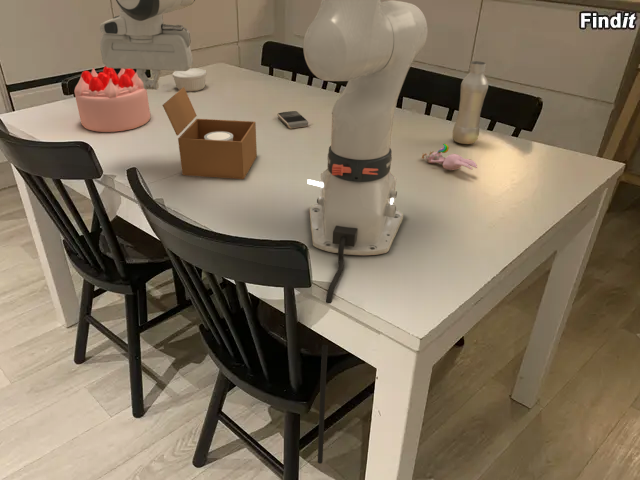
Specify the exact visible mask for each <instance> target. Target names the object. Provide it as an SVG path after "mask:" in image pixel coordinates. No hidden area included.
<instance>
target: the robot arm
mask: <svg viewBox="0 0 640 480" xmlns="http://www.w3.org/2000/svg"><path fill="white" fill-rule="evenodd" d="M115 2H116V3H117V5H118V11H119V15H116V16H113V17H112V18H110V19H107V20H105V21H103V22H101V23H99V30H100V33H101V34H102V36H101V37H100V43H99V44H100V54H101V60H102V63H103V65H104V67H105V66H106V67H107V68H113V69H121V68H123V69H125V70H126V69H133V70H136V72H137V75H138V77H139V78H140V79H141V80H142V82H143V85H144V89H147V90H152V91H157V90H159V87H160V86H159V80H160V77H161V76H162V71H171V72H175V71H187V70H189V69H190V68H193V67H192V66H193V65H194V58H193V54H192V48H191V32H190V31H189V29H187V28H186V27H185V26H183V25H182V24H169V23H168V24H165V23H164V15H163V14H168V13H171V12H172V13H173V12H174V11H178V10H182V9H183V10H184V9H185V8H188V7H190V6H191V5H193V4H194V2H196V0H115ZM427 39H428V24H427V19H426V17H425V14H424V13H423V11H422V10H421V9H420V8H419V7H418V6H417V5H415V4H413V3H411V2H406V1H402V0H385V1H381V0H321V2H320V6H319V8H318V11H317V13H316V16H315V17H314V18H313V20H312V21H311V23H310V24H309V25H308V27H307V29H306V31H305V34H304V37H303V44H302V45H303V47H302V49H303V56H304V60H305V63H306V65H307V67H308V69H309V71H310V72H311V73H312V75H314V76H315V77H316V78H317V79H319V80H321V81H326V82H347V83H346V86H345V88H344V90H343V91H342V93H341V94H340V95H339V96H338V98H337V99H336V101H335V102H334V105H333V108H332V112H331V132H330V133H331V135H330V146H329V147H328V152H327V168H326V169H325V170H323V171H322V172H321V173H320V181H317V180H314V179H307V185H312V186H315V187H319V188H320V189H319V197H317V199H316V204H313V205H311V206H310V207H309V211H308V212H309V221H310V223H309V224H310V230H311V231H310V232H311V240H312V241H311V242H312V245H313V247H315V248H317V249H318V250H322V251H325V252H328V253H333V254H337V261H338V262H337V263H338V267H337V270H336V272H335V274H334V276H333V278H332V280H331V281H330V283H329V285H328V289H327V292H326V297H325V303H326V304H332V302H333V297H334V292H335V289H336V286H337V284H338V282H339V281H340V278H341V276H342V274H343V273H344V269H345V259H344V258H345V255H347V256H348V255H349V256H375V255H383V254H386V253H388V252H389V251H390V249H391V247H392V244H393V243H394V240H395V238H396V235H397V233H398V231H399V229H400V226H401V224H402V222H403V220H404V214H403V212H402V211H400V210H398V209H397V205H395V202H396V198H397V196H398V191H397V190H396V189H397V177H395V175H393V173H392V172H391V166H392V160H393V158H392V157H393V156H392V155H393V151H392V148H391V140H392V132H393V124H394V117H395V110H396V106H397V103H398V99H399V96H400V93H401V91H402V87H403V85H404V83H405V80H406V77H407V75H408V72H409V70H410V68H411V66H412V64H413V62H414V60H415V59H416V58H417V56H418V55H419V54H420V53H421V51H422V50H423V48H424V47H425V44H426V42H427ZM147 70H148V71H150V70H151V73H152V75H153V79H149V78H148V76H147V74H146V72H147ZM328 349H329V344H322V345H321V360H320V361H321V363H320V379H319V381H320V382H319V383H320V384H319V407H318V409H319V410H318V439H317V440H318V442H317V443H318V444H317V463H318V464H320V465H321V464H323V461H324V459H323V458H324V438H325V411H326V391H327V390H326V388H327V387H326V386H327V369H328V352H329V350H328Z"/></svg>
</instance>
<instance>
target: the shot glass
mask: <svg viewBox="0 0 640 480" xmlns="http://www.w3.org/2000/svg"><path fill="white" fill-rule="evenodd" d="M204 139H205V140H222V141H233V134H231V133H229V132H224V131H217V132H211V133H208V134H206V135H205V136H204Z"/></svg>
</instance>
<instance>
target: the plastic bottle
mask: <svg viewBox="0 0 640 480" xmlns="http://www.w3.org/2000/svg"><path fill="white" fill-rule="evenodd" d="M486 67H487V62H485V61H479V60H473V61H471V62H470V63H469V68H468V74H467V75H466V76H465V77H464V78H463V79H462V81H461V84H460V92H459V94H460V96H459V107H458V112H457V116H456V119H455V123H454V125H453V128H452V139H453V141H454V142H456V143H459V144H462V145H471V144H474V143H475V142H476V141H477V140H478V138H479V136H480V122H481V113H482V108H483V105H484V101H485V98H486V95H487V93H488V89H489V81H488V79H487V77H486V75H485V72H486V69H487V68H486Z"/></svg>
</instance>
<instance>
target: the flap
mask: <svg viewBox="0 0 640 480" xmlns="http://www.w3.org/2000/svg"><path fill="white" fill-rule="evenodd" d="M162 108H163V109H164V112H165V114H166V117H167V118H168V121H169V122H170V124H171V126H172V129H173V132H174V133H175V135H176V136H179V135H181V134H182V133H183V131H185V130H186V129H187V128H188V127H189V125H190V124H191V122H192V121H194V119H196V117H198V116H197V113H196V111H195V109H194V106H193V104H192V101H191V99H190V97H189V94H188V92H186V90H185V88H184V87H183V88H182V89H181V90H179V89H178V91H177V92H176V93H175V94H174V95H172V96H171V97H170V98H169V99H167V101H165V103H163V104H162Z"/></svg>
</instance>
